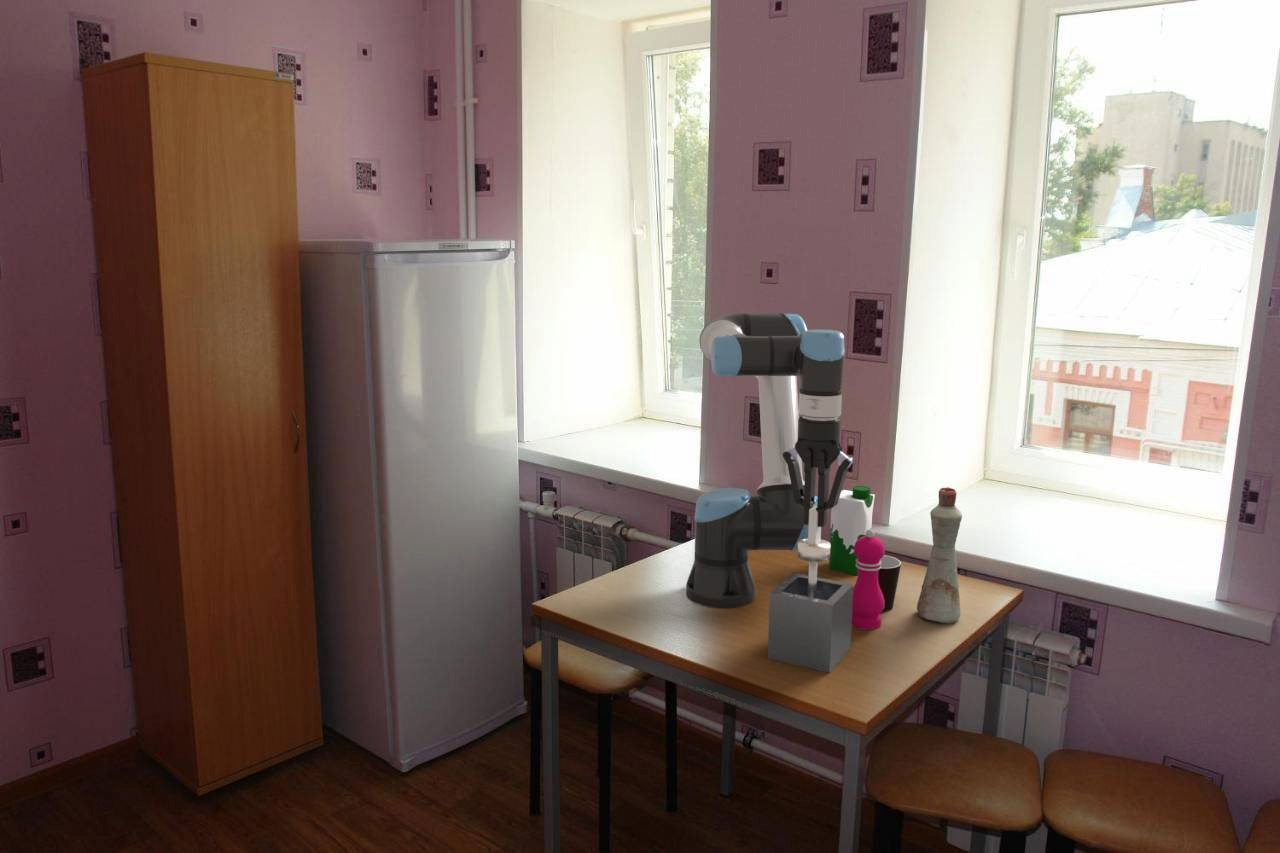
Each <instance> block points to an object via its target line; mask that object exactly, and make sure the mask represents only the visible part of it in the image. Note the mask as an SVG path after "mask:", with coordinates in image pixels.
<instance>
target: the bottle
mask: <svg viewBox="0 0 1280 853" xmlns="http://www.w3.org/2000/svg"><path fill="white" fill-rule="evenodd" d="M957 494H958V493H957V491H956V489H954V488H952V487H949V486H947V487H942V488H940V489H939V490H938V504H937V505H936V506H935V507H934V508H932V509H931V510H930V512H929V514H930V521H931V522H930V523H931V534H932V544H933V545H932V547H931V551H930V556H929V559H928V562H927V566H926V572H925V574H924V575H925V576H924V579H923V582H922V583H923V584H922V585H921V591H920V594H919V597H918V600H917V605H916V611H917V615H918V616H919V617H920V618H922V619H924V620H929V621H932V622H937V623H941V624H949V625H951V624H952V623H954V622H955V623H956V622H957V621H958V620H959V619H960V617H961V615H962V614H961V613H962V612H961V601H960V600H961V599H960V589H959V588H960V585H959V583H960V582H959V578H958V567H957V566H958V565H957V554H956V553H957V552H956V543H957V542H956V541H957V538H958V535H959V530H960V526H961V522H962V518H963V513H962V512H961V511H960V509H959V507H957V506H956V501H957V500H956V499H957Z"/></svg>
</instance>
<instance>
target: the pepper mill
mask: <svg viewBox="0 0 1280 853" xmlns="http://www.w3.org/2000/svg"><path fill="white" fill-rule="evenodd" d="M885 551H886V550H885V545H884V543H883V541H882V540H881V539H880V538H878V537H875V531H874V530H873V529H872V528H871V529H869V530H867V531H866V536H864V537H861V538H859V539H858V540H857V541H856V543H855V545H854V553H855V555H856V556H857V559H856V567H857V568H858V575H857V577H856V581H855V583H854V585H853V604H852V623H851V627H854V628H857V629H860V630H876V629H879V628H881V626H882V616H881V613H883V612H882V611H883V610H884V607H885V602H884V597H883V594H882V592H881V589H880V587H879V583H878V572H879V569H881V561H880V559H881V558H882V557H883V556H884V555H885V553H886V552H885Z"/></svg>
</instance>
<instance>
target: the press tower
mask: <svg viewBox="0 0 1280 853" xmlns="http://www.w3.org/2000/svg"><path fill="white" fill-rule="evenodd" d="M854 586H855V583H849V582H844V581H840V580H838V581H837V580H834V579H828V578H824V577H823V578H822V577H818V576H817V590H816V598H811V597H807V596H808V574H807V575H806V574H801V573H796V572H792V574H790V575H789V576H787V578H785V579H784V580H783V581H781V582H780V583H779V584H778V585H777V586H776V587H775V588H774V589H772V590H771V591H770V592H769V601H768V602H769V606H768V609H769V610H768V611H769V612H768V636H767V637H768V639H767V659H769V660H774V661H776V662H777V661H778V662H782V663H786V664H790V665H795V666H798V667H802V668H807V669H811V670H816V671H819V672H824V673H828V674H830V673H831V672H832V671H833V670H834V668H835V667H836V666H837V665H838V664H839V663H840V661H841V660H842V659H843V658H844V657H845V655H847V653H848V652H849V651H850V649H851V642H852V641H851V640H852V638H851V637H852V625H851V623H852V604H853V587H854Z"/></svg>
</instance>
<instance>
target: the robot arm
mask: <svg viewBox="0 0 1280 853" xmlns="http://www.w3.org/2000/svg"><path fill="white" fill-rule="evenodd" d="M698 340H699V341H698V342H699V347H700V348H699V349H701V352H702V354H703V356H705V358H706V359H708V360H709V361H710V362H711V364H710V366H711V372H712V374H713V375H715V376H717V377H719V376H720V377H727V378H728V377H729V378H733V377H754V378H756V379H757V381H758V398H759V400H758V401H759V416H760V418H759V419H760V420H759V421H760V437H761V439H760V440H761V452H762V453H761V456H762V457H761V460H762V462H761V463H762V475H763V476H762V478H763V482H762V483H761V484H760V485H759V486H758V487H757V488H756V495H755V496H752V495H751V494H750V491H749V490H748V489H746V488H741V487H740V488H739V487H738V488H737V487H723V488H722V487H721V488H717V489H712V490H709V491H706V492H704V493H703V494H701V495H700V496H699V497H698V498H697V500H696V503H695V514H694V518H693V519H694V522H695V525H694V526H695V528H694V561H693V564H692V566H691V569H690V573H689V575H688V577H687V581H686V584H685V595H686V597H687V599H688V600H689V601H691V602H693V603H695V604H697V605H700V606H704V607H709V608H721V609H723V608H724V609H725V608H726V609H727V608H738V607H742V606H746V605H748V604H750V603H752V602H753V601H754V600H755V598H756V584H755V581H754V578H753V575H752V574H753V573H752V572H751V568H750V565H749V551H791V552H793V551H797V546H798V541H799V540H802V539H807V538H808V544H812V545H816V544H818V543H819V542H820V541H821V539H822V538H821V537H822V528H824V527H825V526H826V525H827V516H828V510H829V509H830V510H831V508H833V507H834V506H836V505H837V504H838V500H839V497H840V494H841V491H843V487H844V483H845V480H846V477H847V474H848V470H849V468H850V467H851V466H852V464H853V463H854V461H855V459H854V457H852V456H848V455H847V454H845V453H844V452H843V448H842V446H841V441H840V439H841V422H842V421H841V419H840V418H839V417H840V416H841V415H842V398H843V393H842V392H843V378H844V377H843V376H844V375H843V373H844V358H845V354H846V349H845V336H844V334H843V332H841V331H839V330H834V329H808V328H807V325H806V323H805V320H804V319H803V318H802V316H800V315H799V314H795V313H784V312H779V313H777V312H776V313H775V312H774V313H767V312H765V313H742V312H741V313H738V312H735V313H729V314H726V315H721V316H719V317H717V318H714V319H712V320H710V321H709V322H708V323H706V325H705V326H704V327H703V328H702V330H701V332H700V335H699V339H698ZM797 377H799V393H798V382H797V381H798V380H797V379H798V378H797ZM798 394H799V395H798ZM837 459H838V461H837V465H838V468H837V470H836V473H835V476H834V480H833V483H832V487H831V490H830V488H829V487H830V471H831V466H832V465H833V464H834V462H836V460H837ZM803 464H804V466H803ZM803 467H804V468H803ZM816 471H817V472H816ZM803 473H804V477H803ZM816 474H818V478H816V476H817V475H816ZM816 479H818V481H817V496H816ZM829 490H830V492H829Z"/></svg>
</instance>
